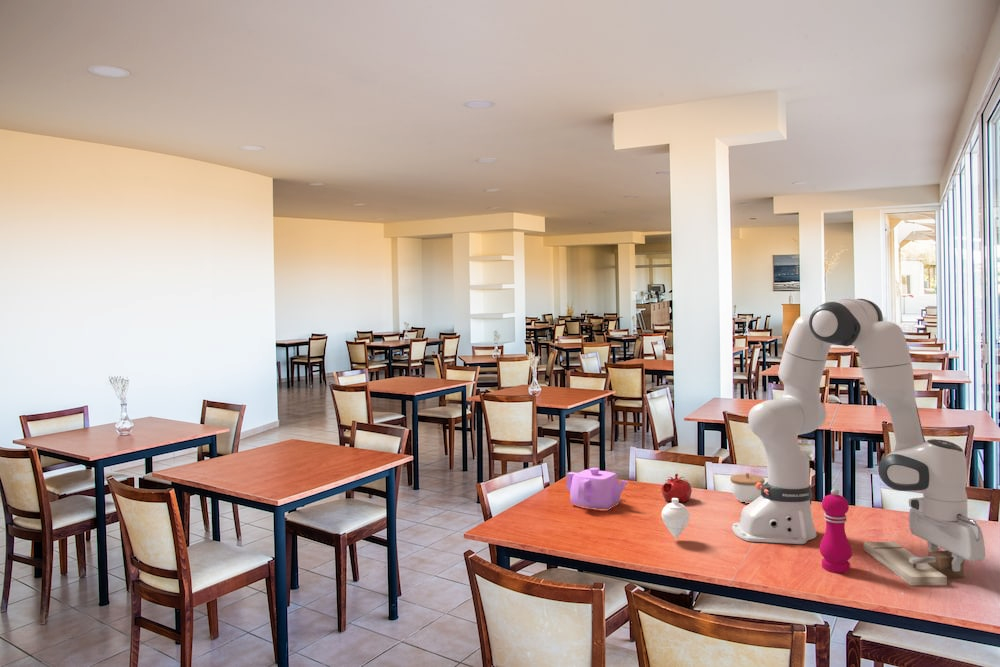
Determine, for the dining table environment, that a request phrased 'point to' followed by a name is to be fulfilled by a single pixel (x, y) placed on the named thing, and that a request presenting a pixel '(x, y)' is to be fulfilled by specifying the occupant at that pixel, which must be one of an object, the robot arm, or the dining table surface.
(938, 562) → the gauge
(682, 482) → the pomegranate
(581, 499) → the teakettle
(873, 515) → the dining table surface
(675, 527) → the spinning top
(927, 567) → the plank
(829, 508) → the pepper mill
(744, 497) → the lidded jar
